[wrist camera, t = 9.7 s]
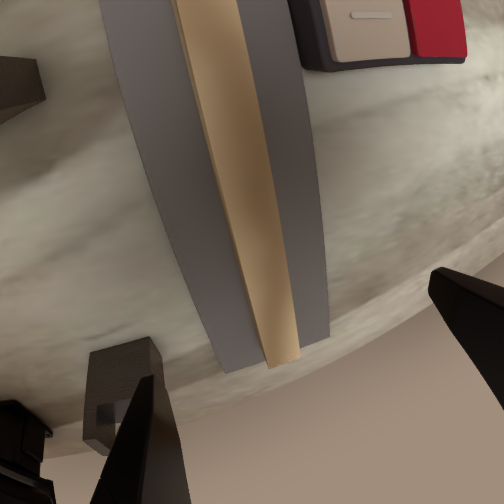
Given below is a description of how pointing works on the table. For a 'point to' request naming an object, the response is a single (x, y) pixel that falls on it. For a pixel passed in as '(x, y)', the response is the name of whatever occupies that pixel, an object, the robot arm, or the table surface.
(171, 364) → the table surface
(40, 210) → the table surface
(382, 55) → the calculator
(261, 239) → the beech rail
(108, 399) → the bracket
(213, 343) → the rubber mat
